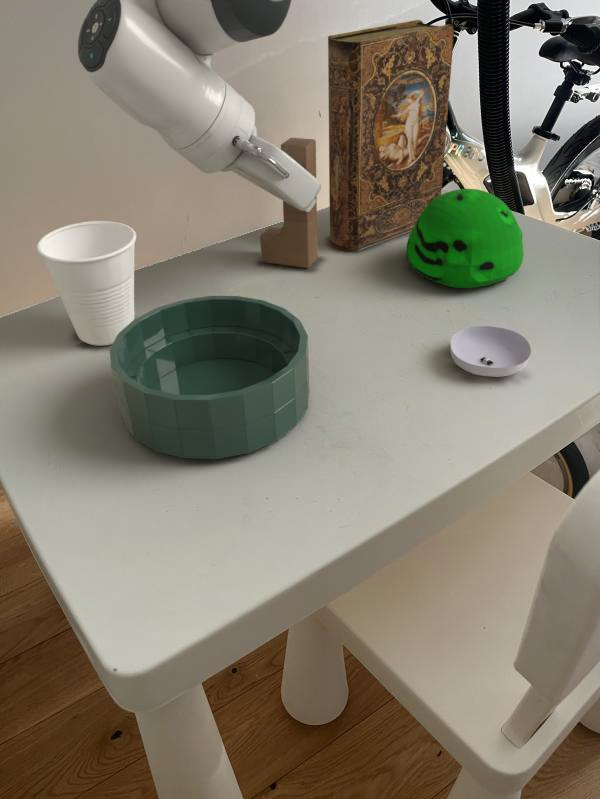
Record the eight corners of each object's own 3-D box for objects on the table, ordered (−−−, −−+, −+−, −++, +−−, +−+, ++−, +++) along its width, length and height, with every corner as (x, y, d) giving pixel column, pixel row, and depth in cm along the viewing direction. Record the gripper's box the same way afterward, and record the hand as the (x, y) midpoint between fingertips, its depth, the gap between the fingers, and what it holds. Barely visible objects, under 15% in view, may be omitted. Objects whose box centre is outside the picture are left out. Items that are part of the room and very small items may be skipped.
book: (350, 254, 95) (352, 43, 81) (323, 241, 99) (320, 37, 84) (438, 221, 103) (455, 23, 88) (411, 210, 107) (422, 18, 92)
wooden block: (318, 258, 94) (316, 138, 86) (309, 268, 92) (306, 146, 84) (271, 253, 96) (264, 135, 88) (261, 262, 94) (253, 142, 86)
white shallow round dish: (489, 394, 70) (492, 378, 68) (431, 358, 75) (432, 342, 74) (546, 366, 73) (549, 349, 72) (486, 333, 78) (488, 317, 77)
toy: (386, 262, 93) (390, 185, 87) (468, 238, 98) (476, 164, 92) (455, 306, 83) (464, 222, 78) (542, 277, 89) (556, 196, 83)
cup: (109, 302, 87) (90, 213, 80) (170, 325, 82) (156, 232, 75) (41, 339, 80) (15, 246, 74) (103, 367, 75) (81, 269, 69)
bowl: (97, 391, 72) (82, 329, 68) (252, 338, 79) (247, 279, 75) (170, 493, 60) (157, 426, 56) (345, 419, 67) (345, 355, 63)
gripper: (281, 125, 72) (361, 200, 81) (191, 86, 86) (268, 154, 96) (244, 180, 72) (328, 248, 82) (161, 132, 87) (241, 195, 96)
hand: (295, 197), depth 89 cm, fingers open, 5 cm apart
